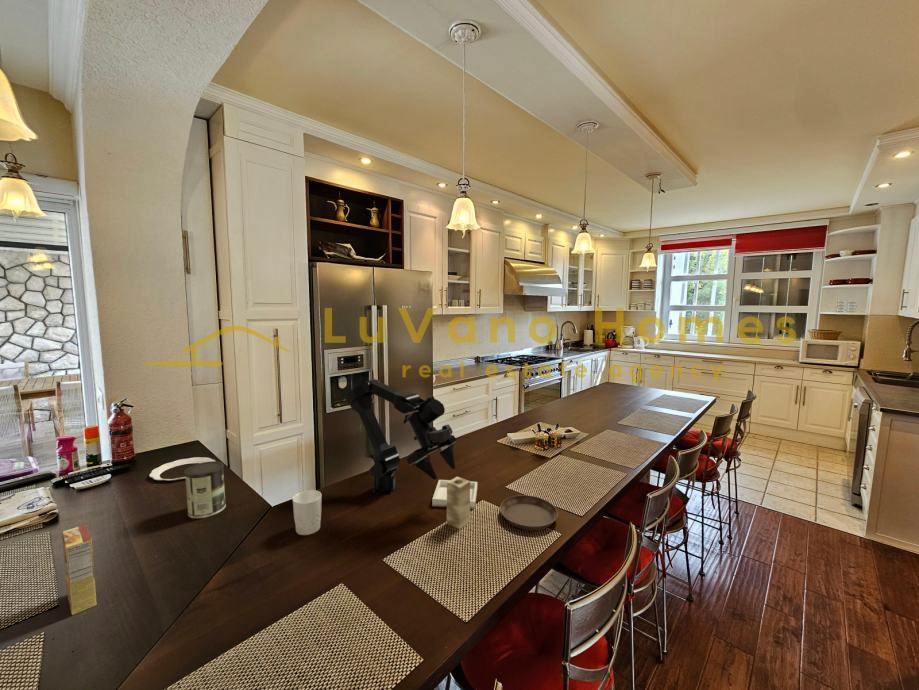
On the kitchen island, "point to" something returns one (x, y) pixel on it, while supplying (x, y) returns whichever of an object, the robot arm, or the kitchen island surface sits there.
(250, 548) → the kitchen island surface
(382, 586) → the kitchen island surface
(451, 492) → the maple block
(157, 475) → the plate
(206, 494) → the coffee can
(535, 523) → the plant saucer
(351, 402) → the robot arm
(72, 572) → the candy box
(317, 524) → the white cup
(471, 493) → the tray
